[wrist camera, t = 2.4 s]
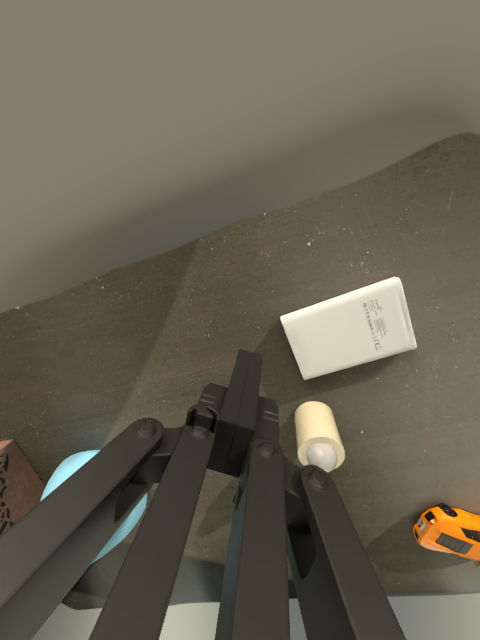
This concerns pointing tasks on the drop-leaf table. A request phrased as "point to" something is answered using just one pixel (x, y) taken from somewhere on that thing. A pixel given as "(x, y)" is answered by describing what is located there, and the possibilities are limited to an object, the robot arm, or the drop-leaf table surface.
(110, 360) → the drop-leaf table surface
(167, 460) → the robot arm
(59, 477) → the sugar bowl
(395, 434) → the drop-leaf table surface
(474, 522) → the toy car
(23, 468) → the tissue box cover
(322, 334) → the hard drive
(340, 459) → the salt shaker
